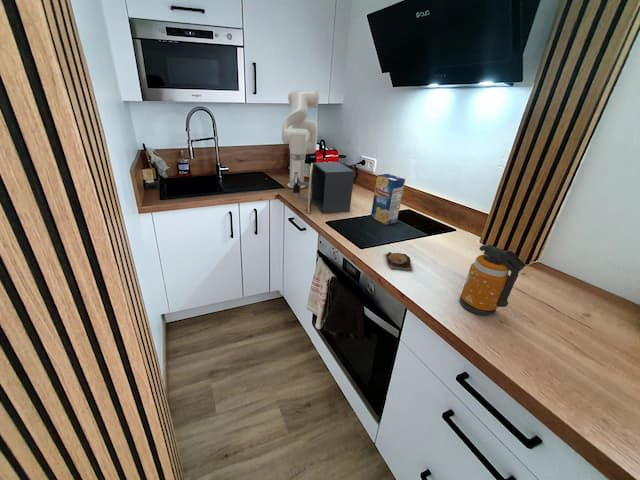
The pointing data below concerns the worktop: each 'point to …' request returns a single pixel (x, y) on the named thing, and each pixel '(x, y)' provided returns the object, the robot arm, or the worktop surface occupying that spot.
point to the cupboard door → (309, 189)
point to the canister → (490, 280)
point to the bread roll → (398, 261)
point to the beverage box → (387, 198)
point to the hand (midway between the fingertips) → (296, 191)
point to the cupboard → (332, 187)
